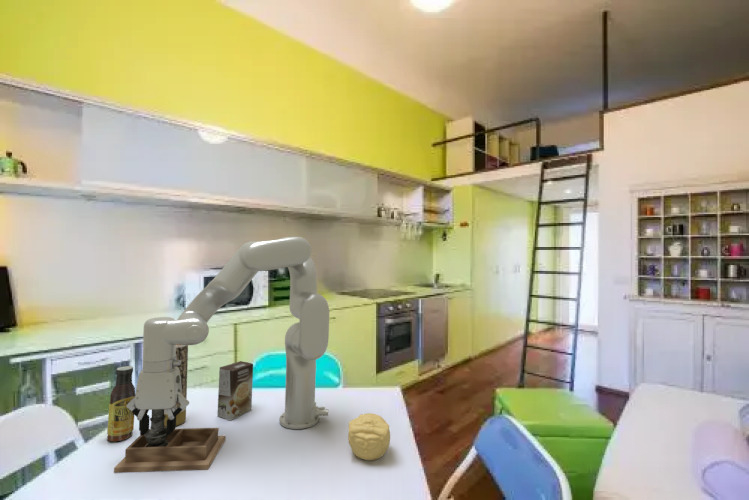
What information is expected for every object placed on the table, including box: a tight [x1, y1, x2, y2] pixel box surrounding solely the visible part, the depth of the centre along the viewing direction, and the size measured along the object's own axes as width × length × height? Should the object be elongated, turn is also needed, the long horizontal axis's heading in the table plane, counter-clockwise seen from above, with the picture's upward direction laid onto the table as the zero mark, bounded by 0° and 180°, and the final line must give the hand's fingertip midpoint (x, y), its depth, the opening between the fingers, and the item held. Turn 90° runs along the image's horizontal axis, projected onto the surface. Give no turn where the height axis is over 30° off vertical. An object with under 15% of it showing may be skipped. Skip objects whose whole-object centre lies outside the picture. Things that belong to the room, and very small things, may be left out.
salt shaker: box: [144, 409, 169, 447], centre depth 95 cm, size 6×6×12 cm
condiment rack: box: [113, 427, 226, 473], centre depth 95 cm, size 22×14×4 cm, turn 96°
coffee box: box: [216, 360, 254, 421], centre depth 120 cm, size 9×6×16 cm
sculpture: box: [347, 412, 391, 461], centre depth 98 cm, size 11×12×11 cm
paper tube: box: [164, 345, 189, 427], centre depth 112 cm, size 7×7×25 cm
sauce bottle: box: [106, 365, 136, 443], centre depth 103 cm, size 7×6×20 cm
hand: (157, 431), depth 95 cm, fingers closed on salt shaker, 5 cm apart
